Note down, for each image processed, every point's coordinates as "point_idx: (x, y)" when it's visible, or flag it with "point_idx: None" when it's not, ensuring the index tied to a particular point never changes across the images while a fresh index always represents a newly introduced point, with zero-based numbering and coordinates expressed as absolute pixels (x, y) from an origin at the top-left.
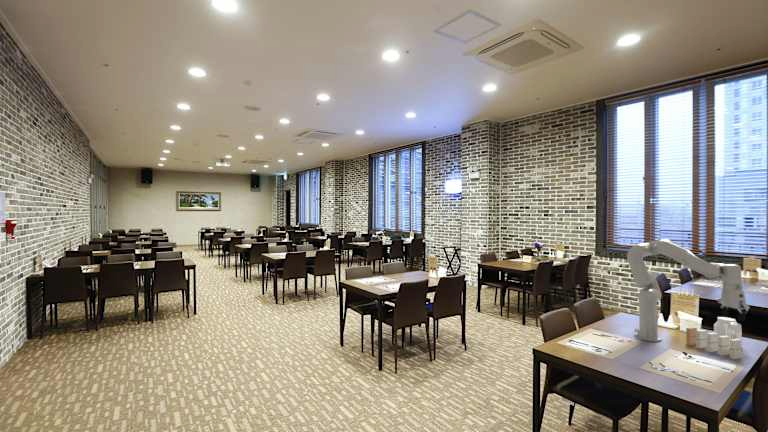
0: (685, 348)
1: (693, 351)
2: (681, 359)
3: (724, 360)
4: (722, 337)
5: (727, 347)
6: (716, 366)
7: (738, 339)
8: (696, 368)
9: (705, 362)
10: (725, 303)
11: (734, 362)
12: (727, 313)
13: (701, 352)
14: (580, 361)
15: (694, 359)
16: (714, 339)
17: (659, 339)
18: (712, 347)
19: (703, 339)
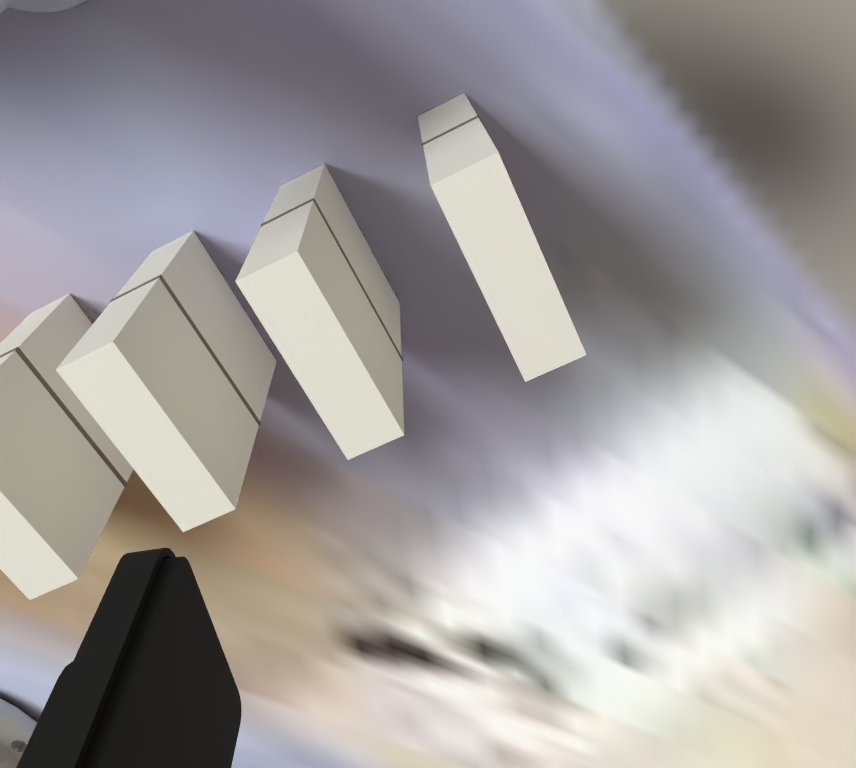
0: (211, 570)
1: (309, 543)
2: (588, 748)
3: (586, 389)
4: (398, 422)
5: (337, 232)
6: (765, 571)
7: (494, 207)
8: (803, 740)
9: (658, 606)
10: None
11: (648, 317)
12: (168, 655)
13: (327, 479)
14: None
15: (579, 654)
16: (196, 372)
17: (3, 725)
18: (247, 355)
19: (73, 419)
